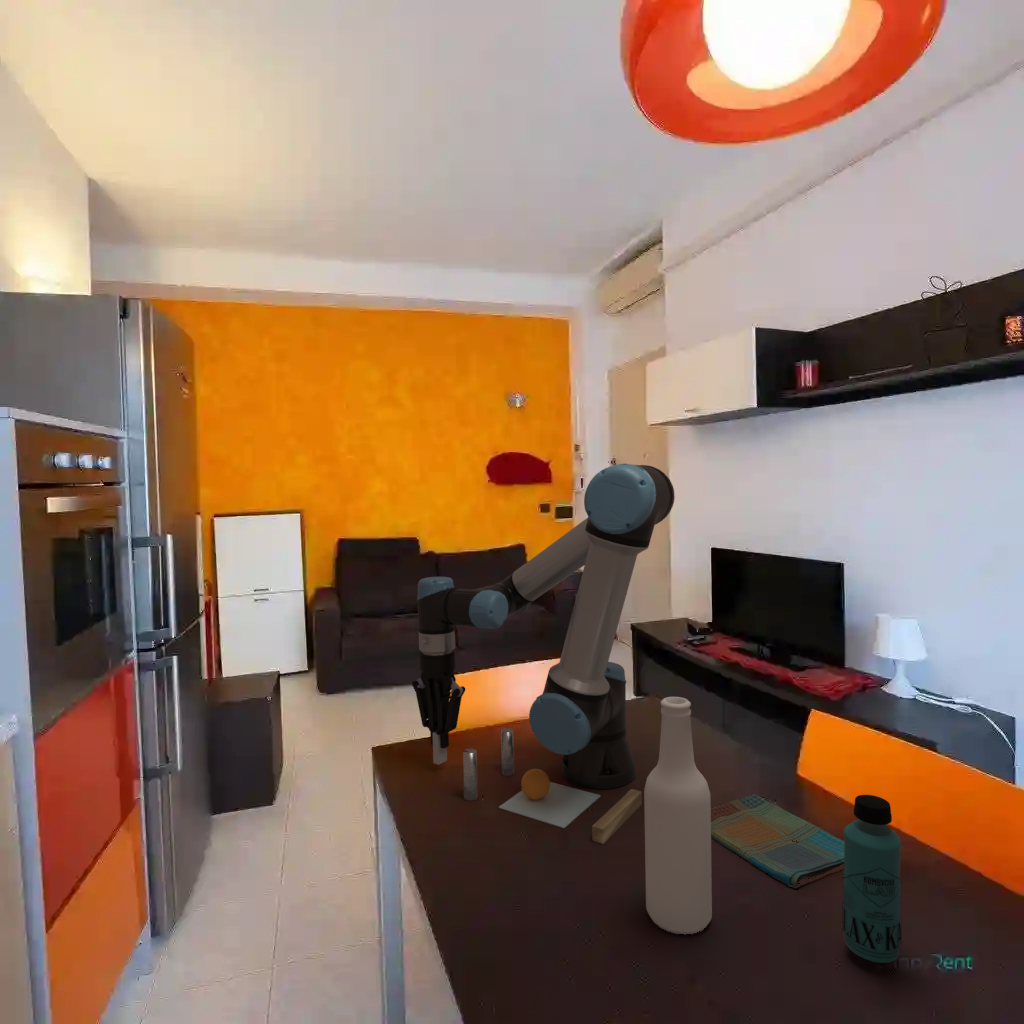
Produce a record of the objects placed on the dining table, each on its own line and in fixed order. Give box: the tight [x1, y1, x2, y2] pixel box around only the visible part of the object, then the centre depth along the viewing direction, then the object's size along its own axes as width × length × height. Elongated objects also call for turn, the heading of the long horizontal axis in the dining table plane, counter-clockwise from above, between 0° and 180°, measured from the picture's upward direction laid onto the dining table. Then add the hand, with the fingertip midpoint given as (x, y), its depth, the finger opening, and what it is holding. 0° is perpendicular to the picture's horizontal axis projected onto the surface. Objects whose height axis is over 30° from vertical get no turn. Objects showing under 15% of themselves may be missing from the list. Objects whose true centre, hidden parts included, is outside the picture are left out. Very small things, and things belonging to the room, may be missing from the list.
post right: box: [500, 728, 515, 776], centre depth 138 cm, size 3×3×9 cm
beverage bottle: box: [841, 794, 903, 964], centre depth 82 cm, size 6×7×20 cm
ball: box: [520, 768, 551, 800], centre depth 127 cm, size 6×6×6 cm
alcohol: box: [643, 696, 713, 936], centre depth 91 cm, size 9×9×30 cm
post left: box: [462, 748, 479, 801], centre depth 128 cm, size 3×3×9 cm
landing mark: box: [498, 781, 601, 829], centre depth 125 cm, size 14×14×1 cm
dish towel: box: [711, 793, 845, 887], centre depth 110 cm, size 17×23×2 cm
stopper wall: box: [591, 788, 643, 845], centre depth 117 cm, size 2×16×2 cm, turn 146°
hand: (440, 761), depth 140 cm, fingers closed
